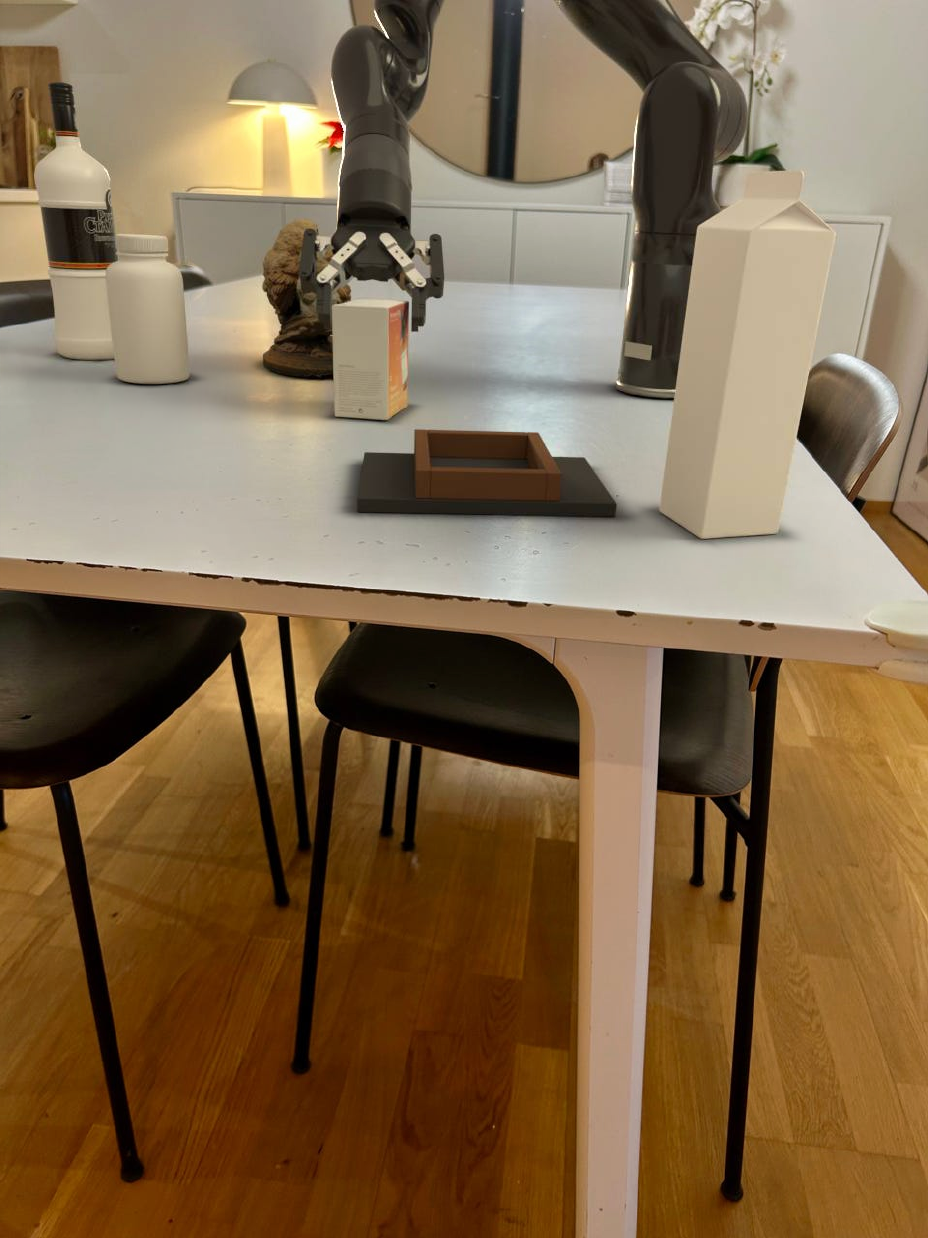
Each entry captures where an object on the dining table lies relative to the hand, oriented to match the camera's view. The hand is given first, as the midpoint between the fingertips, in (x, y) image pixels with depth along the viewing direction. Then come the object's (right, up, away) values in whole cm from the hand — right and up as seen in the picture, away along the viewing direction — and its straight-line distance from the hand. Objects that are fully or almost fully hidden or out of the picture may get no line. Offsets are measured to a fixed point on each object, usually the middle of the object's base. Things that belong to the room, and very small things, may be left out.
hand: (370, 325), depth 88 cm
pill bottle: (-26, -2, +14) cm, 30 cm away
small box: (0, -8, +3) cm, 9 cm away
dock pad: (+10, -19, -20) cm, 29 cm away
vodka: (-38, +5, +27) cm, 47 cm away
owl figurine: (-10, +2, +24) cm, 26 cm away
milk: (+27, -22, -25) cm, 43 cm away
